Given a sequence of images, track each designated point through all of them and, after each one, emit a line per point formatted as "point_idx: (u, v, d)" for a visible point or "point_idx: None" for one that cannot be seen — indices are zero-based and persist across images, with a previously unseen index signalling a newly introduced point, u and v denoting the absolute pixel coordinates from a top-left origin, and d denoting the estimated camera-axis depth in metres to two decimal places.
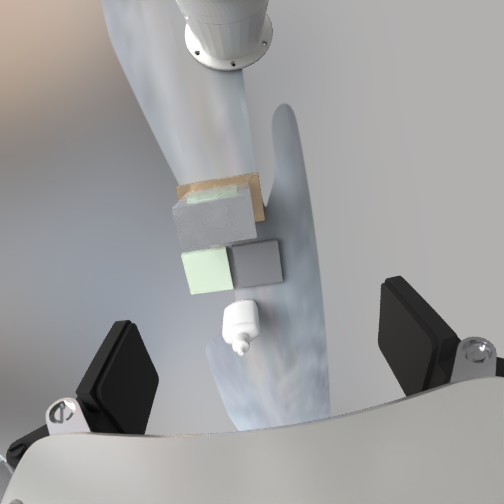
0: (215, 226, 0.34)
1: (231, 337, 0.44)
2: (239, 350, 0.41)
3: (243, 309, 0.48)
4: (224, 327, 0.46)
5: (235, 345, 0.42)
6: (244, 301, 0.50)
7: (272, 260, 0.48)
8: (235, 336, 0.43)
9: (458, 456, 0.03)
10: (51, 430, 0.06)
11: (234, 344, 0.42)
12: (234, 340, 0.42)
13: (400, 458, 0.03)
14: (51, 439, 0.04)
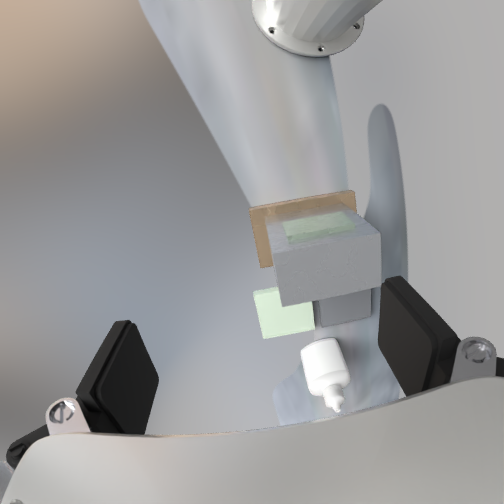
0: (333, 275, 0.25)
1: (320, 390, 0.35)
2: (336, 407, 0.31)
3: (327, 352, 0.39)
4: (309, 377, 0.36)
5: (330, 401, 0.32)
6: (325, 341, 0.41)
7: (362, 294, 0.38)
8: (327, 389, 0.34)
9: (458, 456, 0.03)
10: (51, 430, 0.06)
11: (328, 400, 0.32)
12: (327, 395, 0.33)
13: (401, 458, 0.03)
14: (51, 439, 0.04)
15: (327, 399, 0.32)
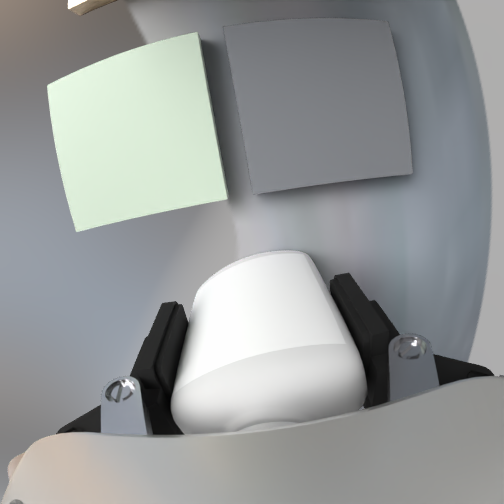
0: None
1: None
2: None
3: (272, 281, 0.11)
4: (182, 372, 0.08)
5: None
6: (272, 256, 0.13)
7: (378, 84, 0.10)
8: None
9: (458, 456, 0.03)
10: (103, 407, 0.06)
11: None
12: None
13: (400, 459, 0.03)
14: (51, 439, 0.04)
15: None
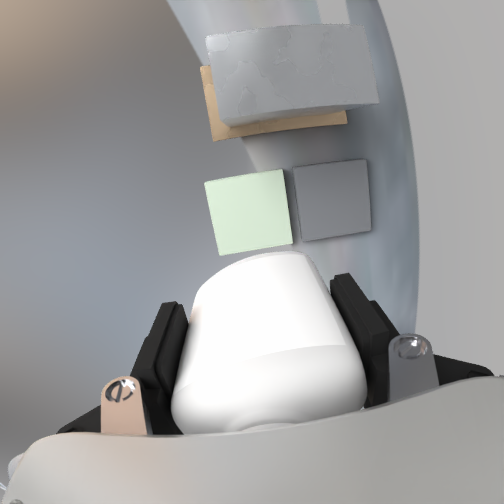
0: (299, 72, 0.14)
1: None
2: None
3: (273, 282, 0.11)
4: (182, 373, 0.08)
5: None
6: (272, 256, 0.13)
7: (357, 193, 0.27)
8: None
9: (458, 456, 0.03)
10: (104, 407, 0.06)
11: None
12: None
13: (401, 459, 0.03)
14: (51, 439, 0.04)
15: None
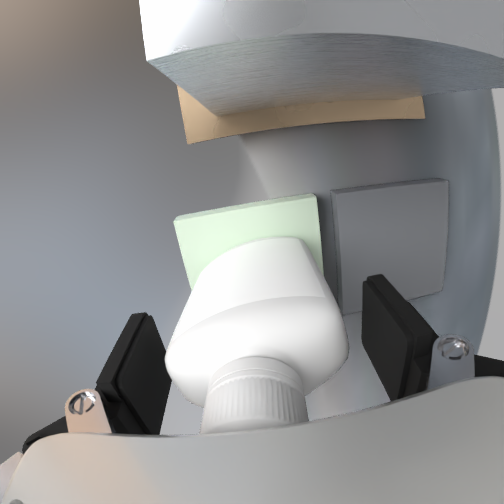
0: None
1: (203, 379, 0.08)
2: None
3: (266, 256, 0.12)
4: (178, 328, 0.10)
5: None
6: (269, 239, 0.14)
7: (432, 235, 0.15)
8: (221, 377, 0.07)
9: (458, 456, 0.03)
10: (69, 421, 0.06)
11: None
12: (211, 405, 0.06)
13: (400, 458, 0.03)
14: (51, 439, 0.04)
15: (204, 427, 0.05)
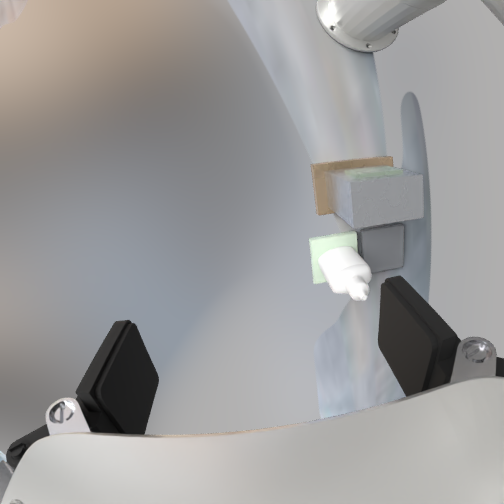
0: (391, 204, 0.30)
1: (343, 283, 0.36)
2: (362, 294, 0.33)
3: (346, 253, 0.40)
4: (330, 273, 0.38)
5: (355, 289, 0.34)
6: (342, 247, 0.42)
7: (397, 245, 0.44)
8: (351, 279, 0.35)
9: (458, 456, 0.03)
10: (51, 430, 0.06)
11: (353, 288, 0.34)
12: (352, 284, 0.34)
13: (400, 459, 0.03)
14: (51, 439, 0.04)
15: (352, 287, 0.34)
